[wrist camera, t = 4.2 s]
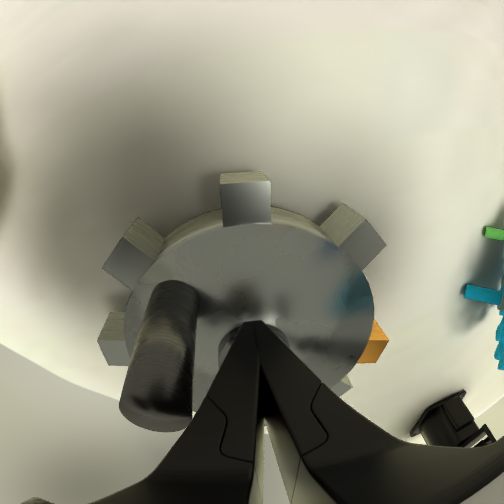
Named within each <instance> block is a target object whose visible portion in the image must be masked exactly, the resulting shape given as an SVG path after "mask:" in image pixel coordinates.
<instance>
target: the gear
mask: <svg viewBox="0 0 504 504" xmlns="http://www.w3.org/2000/svg"><path fill="white" fill-rule="evenodd" d="M485 237H487V238H492V239H497V240H502V241H504V230H501V229H496V228H491V227H486V230H485ZM464 298H467V299H471V300H476V301H481V302H486V303H490V304H495V305H497V308H498V310H500V312H499V315H502V316H503V318H502V321H501V323H500V324H499V326H498V327H497V330H496V340H497V341H499V344H498V346H497V348H496V351H495V354H494V357H495V359H497V360H500V361H499V364H498V369H500V370H504V277H503V281H502V286H501V289H500V291H497V290H493V289H488V288H483V287H478V286H473V285H469V284H467V285H466V289H465V294H464Z"/></svg>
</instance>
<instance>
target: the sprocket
mask: <svg viewBox="0 0 504 504" xmlns="http://www.w3.org/2000/svg"><path fill="white" fill-rule="evenodd" d="M220 192H221V206H222V209H218V210H215V211H211V212H207V213H205V214H203V215H200V216H198V217H196V218H193V219H191V220H189V221H188V222H186V223H184V224H183V225H181V226H179V227H178V228H176V229H175V230H174V231H173V232H171V233H170V234H169V235H168V236H167V237H165V238H164V237H163V236H162V235H160V234H159V233H158V232H157V231H155V230H154V229H153V228H151V227H150V226H149V225H148V224H146V223H145V222H144V221H142V220H141V219H140V218H139V217H138V218H137V219H136V221H135V222H134V223H133V224H132V225H131V227H130V228H129V229H128V230H127V232H126V233H125V234H124V235H123V237H122V238H121V240H120V241H119V243H118V244H117V246H116V247H115V249H114V250H113V252H112V253H111V255H110V256H109V258H108V259H107V261H106V262H105V264H104V266H103V267H102V269H104V270H105V271H106V272H108V273H109V274H110V275H112V276H113V277H114V278H116V279H117V280H118V281H120V282H121V283H123V284H124V285H125V286H127V287H128V288H130V289H131V290H132V291H133V292H132V294H131V296H130V299H129V301H128V304H127V307H126V312H110V313H109V316H108V318H107V320H106V322H105V324H104V326H103V328H102V331H101V333H100V335H99V337H98V339H97V341H98V344H99V346H100V348H101V350H102V352H103V355H104V357H105V359H106V361H107V363H108V365H115V366H129V367H128V371H127V375H126V378H125V382H124V386H123V390H122V394H121V398H120V402H119V409H120V411H121V413H122V414H123V416H125V418H126V419H128V420H129V421H130V422H132V423H133V424H135V425H137V426H139V427H142V428H145V429H148V430H152V431H157V432H175V431H179V430H182V429H185V428H186V427H187V426H188V425H189V424H190V422H191V421H192V411H195V412H197V410H198V409H199V407H200V405H201V403H202V401H203V399H204V398H205V397H206V394H207V392H208V390H209V388H210V386H211V384H212V382H213V380H214V379H215V377H216V375H217V373H218V371H219V369H220V367H221V365H222V363H223V361H224V359H225V357H226V355H227V353H228V351H229V349H230V347H231V345H232V343H233V341H234V339H235V337H236V335H237V333H238V331H239V329H240V327H241V325H242V323H243V322H245V321H254V320H262V321H263V322H264V323H265V324H266V325H267V326H268V327H269V328H270V329H271V330H272V331H273V332H274V333H275V334H276V335H277V336H278V337H279V338H280V339H281V340H282V341H283V342H284V343H285V344H286V345H287V346H288V347H289V348H290V349H291V350H292V351H293V352H294V354H295V355H296V356H297V357H298V358H299V359H300V360H301V361H302V362H303V363H304V364H305V365H306V366H307V367H308V368H309V369H310V370H311V371H312V372H313V373H314V374H315V375H316V376H317V377H318V378H319V379H320V380H321V381H322V383H325V384H326V385H327V386H328V387H329V388H330V389H331V390H332V391H333V392H334V393H335V394H336V395H337V396H338V397H340V396H341V395H343V394H344V393H345V392H347V391H348V390H349V389H351V388H352V385H351V383H350V381H349V378H348V376H347V374H348V373H349V372H350V370H351V369H352V368H353V367H354V366H355V364H356V363H376V361H377V360H378V358H379V357H380V355H381V353H382V352H383V350H384V348H385V347H386V345H387V343H388V342H389V339H388V338H387V336H386V335H385V333H384V332H383V331H382V329H381V328H380V326H379V325H378V323H377V322H376V321H375V319H374V303H373V296H372V293H371V290H370V287H369V283H368V282H367V280H366V278H365V276H364V274H363V272H362V270H363V269H364V268H365V267H366V266H367V265H368V264H369V263H370V262H371V261H372V260H373V259H374V258H375V257H376V256H377V255H378V253H379V252H380V251H381V250H382V249H383V248H384V247H385V246H386V244H385V242H384V241H383V240H382V238H381V237H380V236H379V235H378V233H377V232H376V231H375V230H374V229H373V227H372V226H371V225H370V224H369V222H368V221H367V220H366V219H365V218H364V217H362V216H361V215H359V214H358V213H357V212H355V211H354V210H352V209H351V208H349V207H348V206H346V205H345V204H343V203H342V204H341V205H340V206H339V207H338V208H337V209H336V210H335V211H334V212H333V213H332V214H331V215H330V216H329V217H328V218H327V219H326V220H325V221H324V222H323V223H322V224H321V225H320V226H318V225H317V224H315V223H313V222H312V221H310V220H309V219H307V218H305V217H303V216H300V215H298V214H296V213H293V212H290V211H287V210H283V209H280V208H275V207H271V183H270V180H269V179H268V178H267V177H266V176H265V175H264V174H263V173H262V172H261V171H251V172H235V173H220ZM264 426H267V425H266V422H265V418H264Z"/></svg>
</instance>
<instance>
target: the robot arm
mask: <svg viewBox="0 0 504 504" xmlns="http://www.w3.org/2000/svg"><path fill="white" fill-rule="evenodd" d="M465 394H466V391H465V390H463V391H461V392H459V393H458V394H456V395H454V396H452V397H450V398H448V399H446V400H444V401H442V402H440V403H438V404H435V405H433V406H431V407H429V408H428V409H427V410H426V411H425V412H424V414H423V416H422V417H421V419H420V420H419V422H418V423H417V425H416V426H415V427H414V429H413V430H412V432H411V433H410V436H411V437H413V436H416V435H418V434H420V433H421V435H422V436H423V438H424V440H425V442H426V444H427V445H423V444H414V443H409V442H405V441H403V440H400V439H398V438H396V437H394V436H392V435H390V434H389V433H387V432H386V431H384V430H383V429H381V428H380V427H379V426H377V425H376V424H374V423H373V422H371V421H370V420H368V419H367V418H366V417H364V416H363V415H361V414H360V413H359V412H357V411H356V410H355V409H353V408H352V407H351V406H349V405H348V404H347V403H345V402H344V401H343V400H342V399H341V398H340V397H338V396H337V395H336V394H335V393H334V392H333V391H332V390H331V389H330V388H329V387H328V386H327V385H326V384H325V383H322V381H321V380H320V379H319V378H318V377H317V376H316V375H315V374H314V373H313V372H312V371H311V370H310V369H309V368H308V367H307V366H306V365H305V364H304V363H303V362H302V361H301V360H300V359H299V358H298V357H297V356H296V355H295V354H294V352H293V351H292V350H291V349H290V348H289V347H288V346H287V345H286V344H285V343H284V342H283V341H282V340H281V339H280V338H279V337H278V336H277V335H276V334H275V333H274V332H273V331H272V330H271V329H270V328H269V327H268V326H267V325H266V324H265V323H264V322H263V321H262V320H254V321H245V322H243V323H242V325H241V327H240V329H239V331H238V333H237V335H236V337H235V339H234V341H233V343H232V345H231V347H230V349H229V351H228V353H227V355H226V357H225V359H224V361H223V363H222V365H221V367H220V369H219V371H218V373H217V375H216V377H215V379H214V380H213V382H212V384H211V386H210V388H209V390H208V392H207V394H206V397H205V398H204V399H203V401H202V403H201V405H200V407H199V409H198V410H197V412H196V414H195V416H194V417H193V419H192V421H191V422H190V424H189V425H188V426H187V428H186V429H185V431H184V432H183V434H182V435H181V436H180V438H179V439H178V440H177V442H176V443H175V444H174V446H173V447H172V448H171V449H170V451H169V452H168V453H167V455H166V456H165V457H164V459H163V460H162V461H161V462H160V464H159V465H158V466H157V467H156V468H155V470H154V471H153V472H151V473H150V474H149V475H148V476H147V477H145V478H144V479H143V480H141V481H139V482H138V483H135V484H133V485H131V486H129V487H127V488H124V489H122V490H120V491H118V492H116V493H114V494H111V495H109V496H106V497H104V498H101V499H99V500H97V501H94V502H92V503H89V504H263V480H264V418H265V422H266V425H267V429H268V432H269V436H270V439H271V443H272V446H273V449H274V452H275V456H276V459H277V463H278V466H279V469H280V472H281V475H282V478H283V482H284V485H285V488H286V491H287V495H288V498H289V501H290V504H504V436H503V437H502V438H500V439H499V440H498V441H496V439H495V438H494V436H493V435H492V433H491V431H490V430H489V428H488V427H487V425H486V424H484V425H483V426H482V428H480V429H479V428H478V426H477V425H476V423H475V422H474V417H473V416H472V414H471V413H470V411H469V410H468V408H467V407H466V405H465V404H464V402H463V401H462V399H463V397H464V396H465ZM486 434H487V436H488V437H487V438H486V439H484V440H482V441H480V442H479V443H478V444H477V445H475V446H474V447H473V448H470V447H472V446H473V445H474V444H475V443H477V442H478V441H479V440H480V439H481V438H483V437H484V436H485V435H486ZM21 504H54V503H51V502H49V501H46V500H43V499H41V498H37V497H34V498H31V499H29V500H27V501H25V502H23V503H21Z"/></svg>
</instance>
